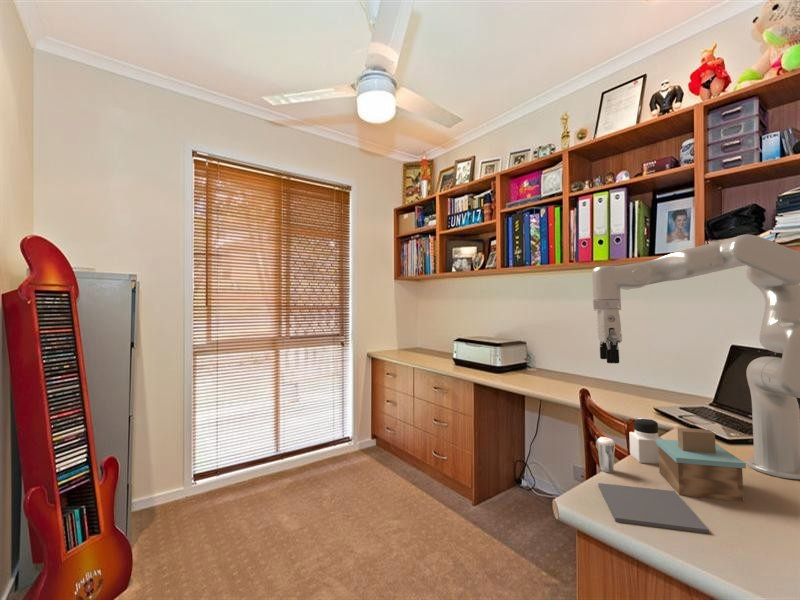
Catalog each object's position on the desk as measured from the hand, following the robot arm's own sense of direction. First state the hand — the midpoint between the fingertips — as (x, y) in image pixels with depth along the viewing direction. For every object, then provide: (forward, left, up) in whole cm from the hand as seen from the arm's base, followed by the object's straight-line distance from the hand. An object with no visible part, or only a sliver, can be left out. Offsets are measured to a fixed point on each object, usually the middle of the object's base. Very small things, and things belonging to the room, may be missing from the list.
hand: (609, 361), depth 115 cm
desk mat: (0, +29, -30) cm, 42 cm away
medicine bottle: (-10, -3, -30) cm, 32 cm away
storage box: (-16, +14, -30) cm, 37 cm away
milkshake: (+4, +9, -30) cm, 32 cm away
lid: (-16, +14, -22) cm, 31 cm away
